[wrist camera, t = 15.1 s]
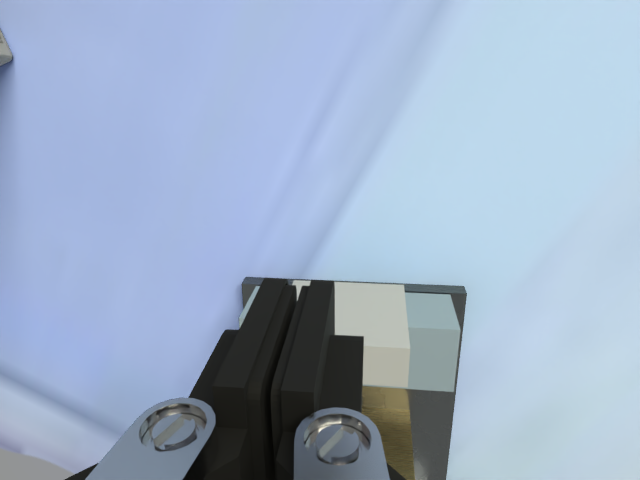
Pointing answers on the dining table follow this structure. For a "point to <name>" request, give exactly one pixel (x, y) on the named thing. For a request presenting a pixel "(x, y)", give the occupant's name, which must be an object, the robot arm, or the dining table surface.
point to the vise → (414, 393)
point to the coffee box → (4, 51)
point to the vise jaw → (397, 333)
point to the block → (394, 438)
